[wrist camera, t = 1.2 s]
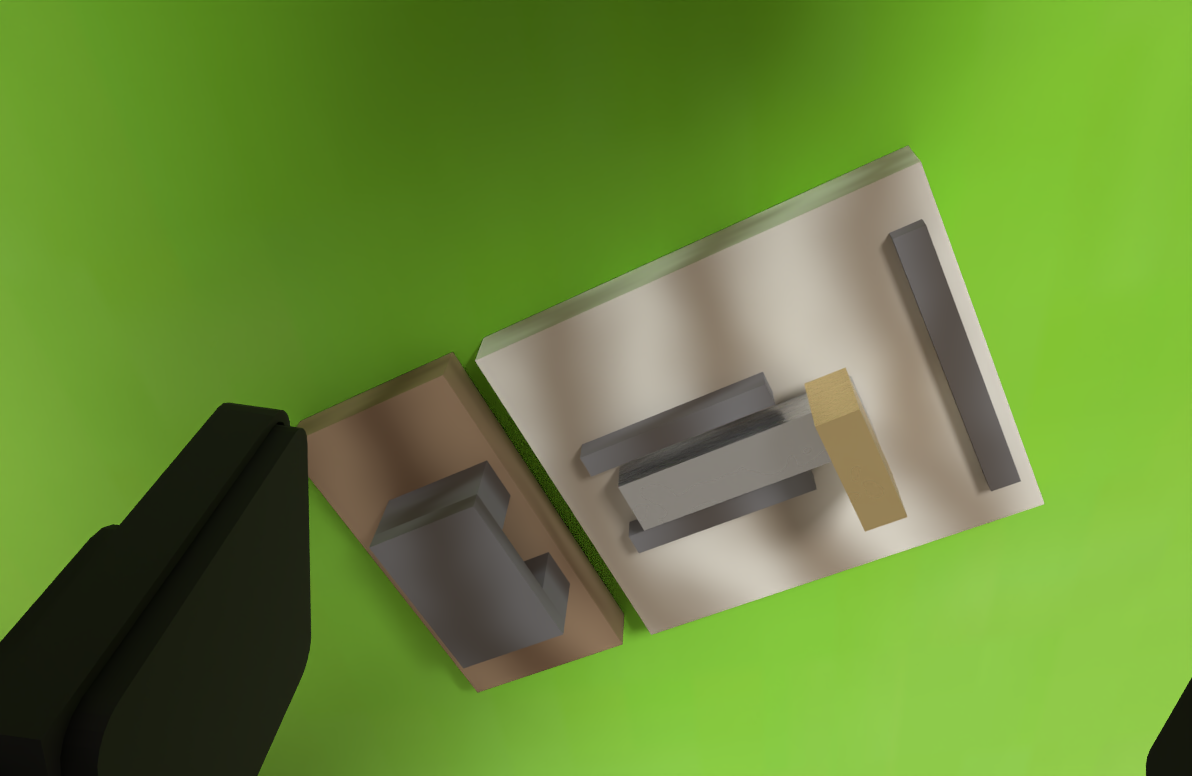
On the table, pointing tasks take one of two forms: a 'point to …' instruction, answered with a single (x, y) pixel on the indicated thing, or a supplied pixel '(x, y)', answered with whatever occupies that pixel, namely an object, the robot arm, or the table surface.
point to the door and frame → (680, 430)
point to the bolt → (770, 458)
